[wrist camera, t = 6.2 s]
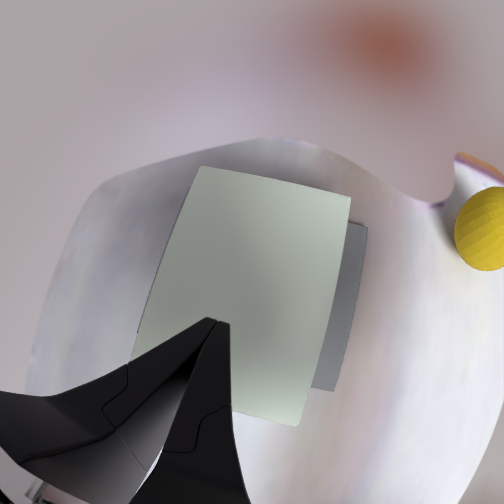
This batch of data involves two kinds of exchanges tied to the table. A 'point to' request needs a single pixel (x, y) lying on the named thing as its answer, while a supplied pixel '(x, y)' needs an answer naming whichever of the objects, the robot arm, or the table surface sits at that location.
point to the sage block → (253, 282)
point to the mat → (334, 307)
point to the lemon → (482, 230)
